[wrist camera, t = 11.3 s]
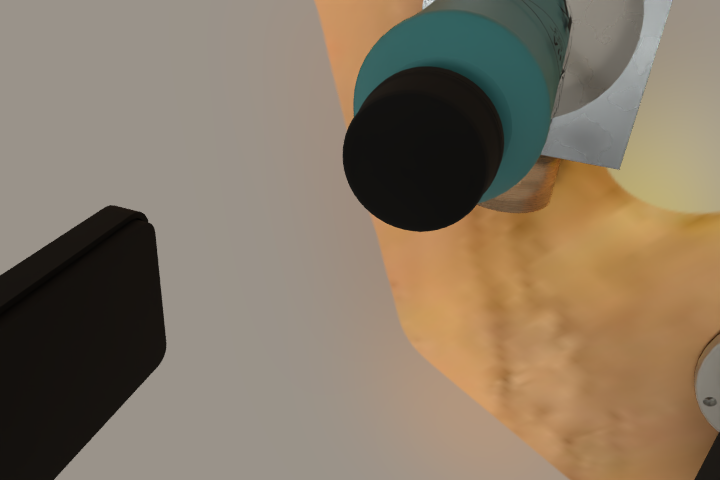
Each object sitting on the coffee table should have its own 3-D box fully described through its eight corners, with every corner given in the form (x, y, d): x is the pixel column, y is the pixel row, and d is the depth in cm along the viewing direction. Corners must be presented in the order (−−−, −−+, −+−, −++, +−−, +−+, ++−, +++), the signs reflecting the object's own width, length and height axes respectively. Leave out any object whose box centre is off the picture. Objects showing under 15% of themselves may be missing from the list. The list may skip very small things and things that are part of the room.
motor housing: (599, 190, 42) (599, 236, 36) (422, 155, 44) (398, 193, 39) (694, -125, 32) (714, -125, 27) (463, -145, 35) (439, -149, 30)
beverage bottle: (464, 100, 35) (339, 298, 19) (430, -23, 33) (252, 78, 16) (588, 70, 32) (570, 270, 16) (561, -68, 30) (508, -1, 13)
